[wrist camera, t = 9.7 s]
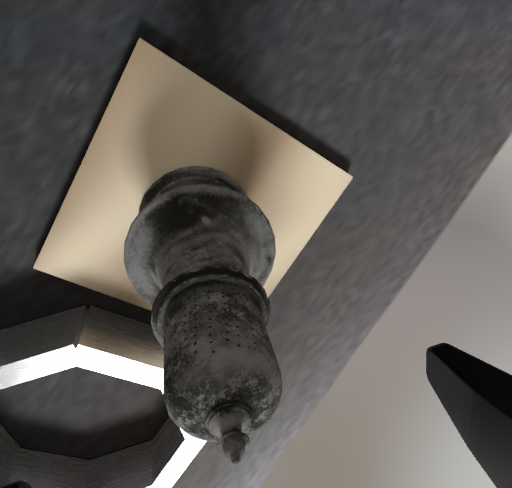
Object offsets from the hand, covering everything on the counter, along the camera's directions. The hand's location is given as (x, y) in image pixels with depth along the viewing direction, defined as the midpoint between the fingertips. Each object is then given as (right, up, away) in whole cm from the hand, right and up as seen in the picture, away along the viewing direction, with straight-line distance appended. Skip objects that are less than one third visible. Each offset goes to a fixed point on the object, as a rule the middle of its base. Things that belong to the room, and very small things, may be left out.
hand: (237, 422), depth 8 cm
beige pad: (-2, +5, +10) cm, 12 cm away
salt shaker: (-2, +5, +10) cm, 11 cm away
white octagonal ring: (-9, -5, +14) cm, 18 cm away
